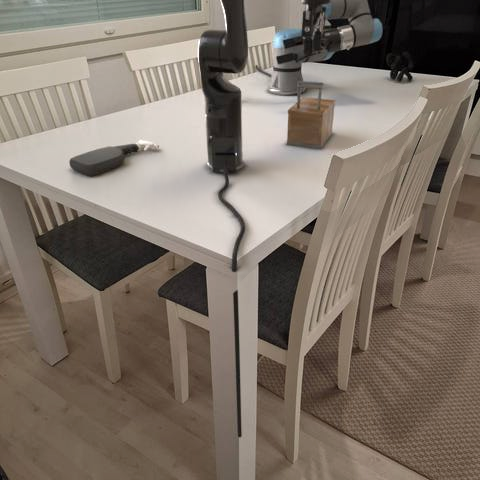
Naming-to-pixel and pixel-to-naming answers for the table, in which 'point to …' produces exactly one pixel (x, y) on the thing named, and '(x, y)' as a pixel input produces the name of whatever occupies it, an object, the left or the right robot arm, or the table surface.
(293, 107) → the wooden door panel
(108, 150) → the spray bottle
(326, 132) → the chest
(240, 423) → the left robot arm
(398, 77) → the squiggle
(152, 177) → the table surface
